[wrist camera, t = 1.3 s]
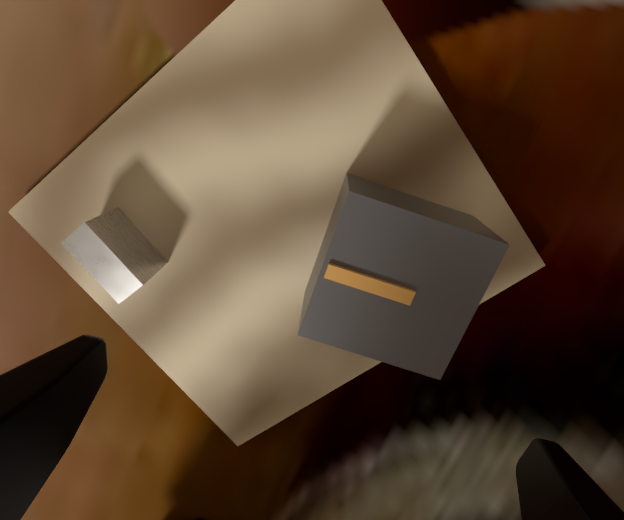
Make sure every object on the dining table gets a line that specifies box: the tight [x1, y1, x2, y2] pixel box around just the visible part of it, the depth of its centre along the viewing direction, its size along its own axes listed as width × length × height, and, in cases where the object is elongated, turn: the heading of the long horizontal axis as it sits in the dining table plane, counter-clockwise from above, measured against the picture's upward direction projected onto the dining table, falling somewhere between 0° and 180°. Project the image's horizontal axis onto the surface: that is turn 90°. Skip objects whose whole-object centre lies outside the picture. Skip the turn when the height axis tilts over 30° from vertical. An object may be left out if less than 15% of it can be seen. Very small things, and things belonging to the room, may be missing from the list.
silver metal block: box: [60, 207, 168, 304], centre depth 20 cm, size 4×2×3 cm, turn 37°
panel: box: [9, 0, 545, 446], centre depth 22 cm, size 18×20×1 cm
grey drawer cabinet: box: [298, 173, 510, 380], centre depth 19 cm, size 6×6×5 cm
